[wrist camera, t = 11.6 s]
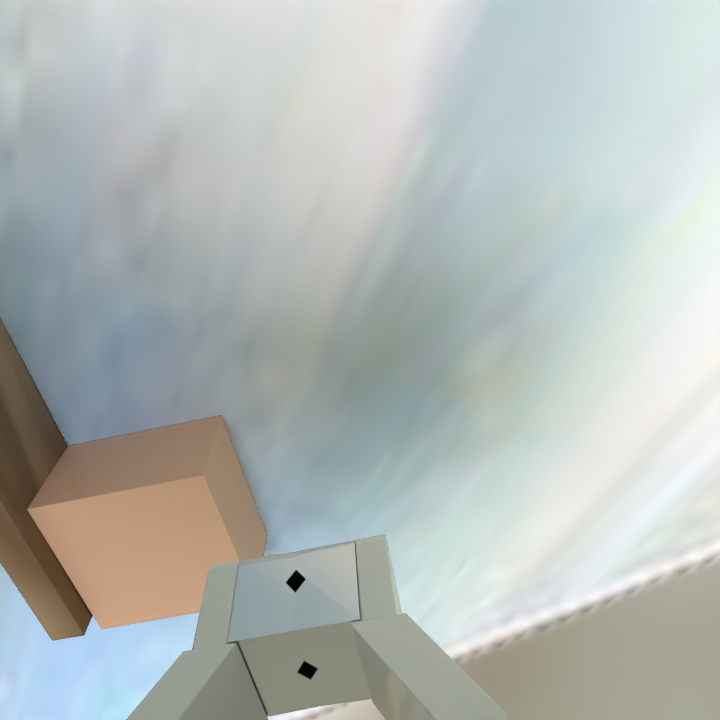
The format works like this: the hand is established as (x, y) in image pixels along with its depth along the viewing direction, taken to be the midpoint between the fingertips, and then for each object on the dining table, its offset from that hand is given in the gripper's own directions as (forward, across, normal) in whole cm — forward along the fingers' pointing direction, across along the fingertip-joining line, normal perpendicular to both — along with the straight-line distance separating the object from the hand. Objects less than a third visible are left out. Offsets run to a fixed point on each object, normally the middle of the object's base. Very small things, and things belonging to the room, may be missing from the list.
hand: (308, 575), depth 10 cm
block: (+25, +13, +16) cm, 33 cm away
